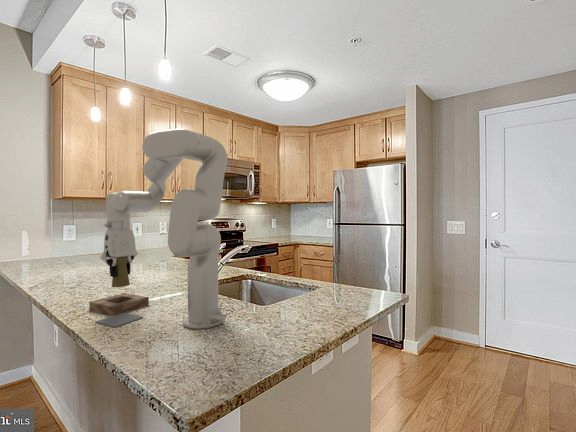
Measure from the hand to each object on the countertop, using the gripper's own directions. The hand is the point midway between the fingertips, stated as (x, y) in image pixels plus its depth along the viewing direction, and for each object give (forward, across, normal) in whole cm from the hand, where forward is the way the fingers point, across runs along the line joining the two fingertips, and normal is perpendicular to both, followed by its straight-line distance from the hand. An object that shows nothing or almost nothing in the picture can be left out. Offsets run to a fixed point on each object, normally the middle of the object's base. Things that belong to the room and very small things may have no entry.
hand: (120, 274), depth 119 cm
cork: (+4, 0, 0) cm, 4 cm away
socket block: (+12, 0, +1) cm, 12 cm away
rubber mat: (+13, -9, -12) cm, 20 cm away
